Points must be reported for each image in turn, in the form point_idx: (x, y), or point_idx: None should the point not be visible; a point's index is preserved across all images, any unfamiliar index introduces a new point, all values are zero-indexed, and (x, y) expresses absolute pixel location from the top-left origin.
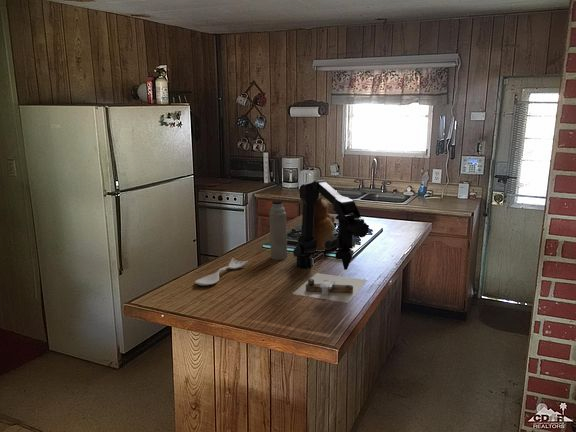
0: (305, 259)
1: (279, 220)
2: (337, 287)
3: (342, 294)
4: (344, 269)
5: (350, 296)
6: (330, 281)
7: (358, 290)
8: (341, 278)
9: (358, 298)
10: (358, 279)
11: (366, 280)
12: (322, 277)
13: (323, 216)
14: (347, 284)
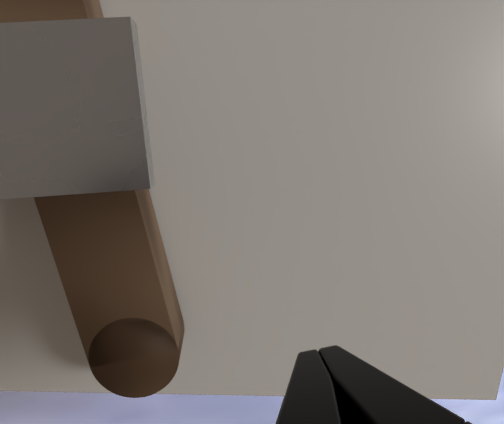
0: None
1: None
2: (50, 244)
3: (60, 283)
4: (299, 354)
5: (44, 365)
6: (95, 132)
7: (216, 391)
8: (498, 146)
9: (83, 413)
10: (499, 319)
11: (487, 391)
12: None
13: None
14: (339, 255)
